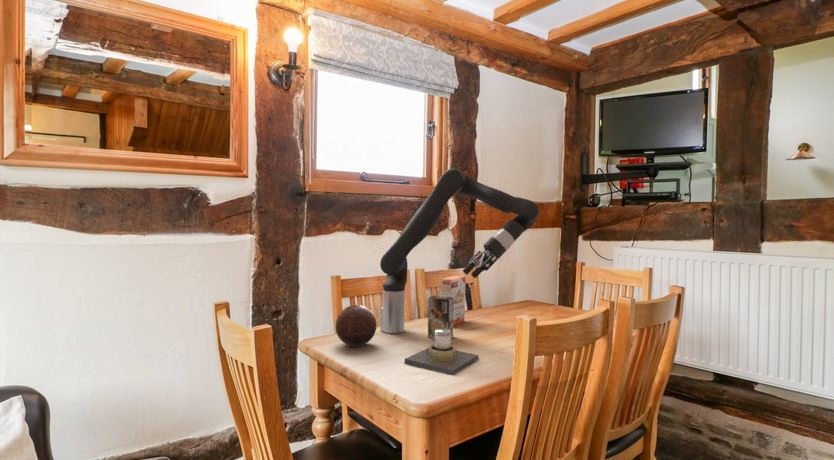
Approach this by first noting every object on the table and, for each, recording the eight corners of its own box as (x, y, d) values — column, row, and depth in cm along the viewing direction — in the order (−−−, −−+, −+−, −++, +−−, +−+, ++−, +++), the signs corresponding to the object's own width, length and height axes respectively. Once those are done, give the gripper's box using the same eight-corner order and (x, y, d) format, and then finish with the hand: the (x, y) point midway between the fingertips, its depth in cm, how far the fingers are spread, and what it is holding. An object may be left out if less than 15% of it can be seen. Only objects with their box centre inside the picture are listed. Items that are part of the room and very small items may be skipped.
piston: (431, 357, 147) (432, 330, 147) (439, 353, 152) (439, 327, 151) (445, 360, 144) (445, 333, 144) (453, 356, 149) (453, 329, 148)
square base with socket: (404, 363, 145) (404, 349, 145) (432, 349, 161) (433, 337, 160) (453, 374, 136) (453, 360, 136) (478, 359, 151) (478, 346, 151)
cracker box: (451, 327, 193) (452, 279, 192) (439, 325, 196) (439, 278, 195) (465, 321, 205) (466, 276, 204) (453, 319, 208) (454, 275, 207)
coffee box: (454, 336, 178) (454, 297, 178) (449, 340, 173) (449, 299, 172) (432, 334, 182) (433, 295, 181) (426, 338, 176) (427, 297, 175)
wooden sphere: (383, 348, 162) (383, 307, 162) (344, 354, 154) (344, 311, 154) (366, 338, 175) (366, 300, 174) (329, 343, 167) (329, 303, 167)
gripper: (485, 235, 170) (455, 264, 168) (500, 237, 157) (468, 269, 154) (497, 249, 172) (468, 278, 170) (514, 252, 158) (482, 285, 156)
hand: (468, 274), depth 162 cm, fingers open, 8 cm apart
